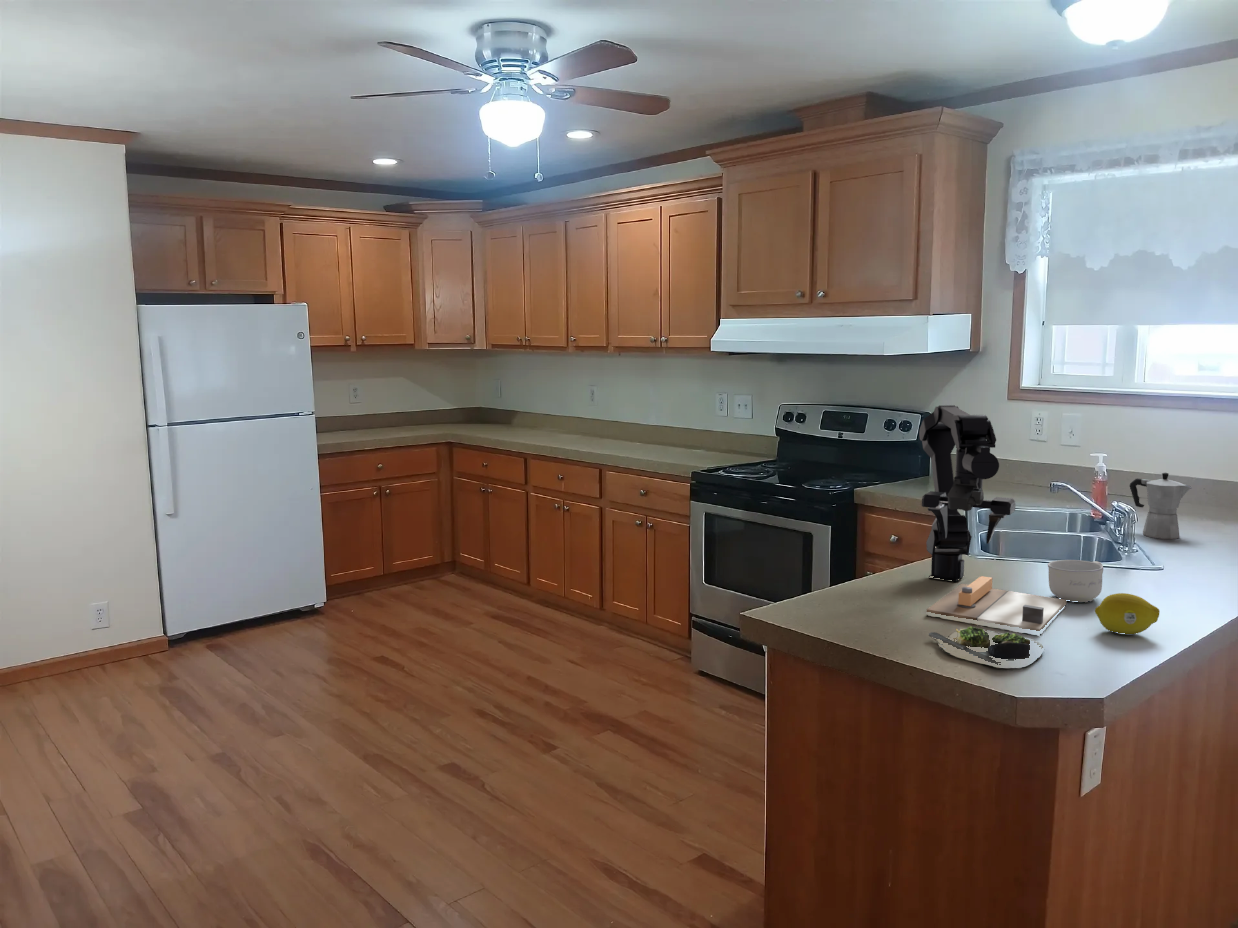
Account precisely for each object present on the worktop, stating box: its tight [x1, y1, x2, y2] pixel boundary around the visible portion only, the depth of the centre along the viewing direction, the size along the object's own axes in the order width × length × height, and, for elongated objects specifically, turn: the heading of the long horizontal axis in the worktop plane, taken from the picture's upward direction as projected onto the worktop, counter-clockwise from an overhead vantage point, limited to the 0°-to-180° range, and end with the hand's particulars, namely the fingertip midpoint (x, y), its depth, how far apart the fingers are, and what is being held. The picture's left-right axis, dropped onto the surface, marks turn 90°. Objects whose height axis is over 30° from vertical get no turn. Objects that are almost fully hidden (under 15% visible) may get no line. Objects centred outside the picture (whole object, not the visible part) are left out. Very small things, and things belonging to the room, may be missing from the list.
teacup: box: [1047, 559, 1104, 603], centre depth 197 cm, size 14×11×8 cm
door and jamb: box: [926, 583, 1067, 631], centre depth 189 cm, size 22×23×4 cm
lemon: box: [1094, 592, 1160, 635], centre depth 174 cm, size 11×8×8 cm
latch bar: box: [958, 575, 993, 606], centre depth 194 cm, size 16×2×3 cm, turn 142°
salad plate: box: [928, 625, 1044, 665], centre depth 167 cm, size 19×18×5 cm
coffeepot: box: [1129, 472, 1193, 540], centre depth 253 cm, size 15×9×18 cm, turn 44°
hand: (966, 540), depth 200 cm, fingers open, 9 cm apart
